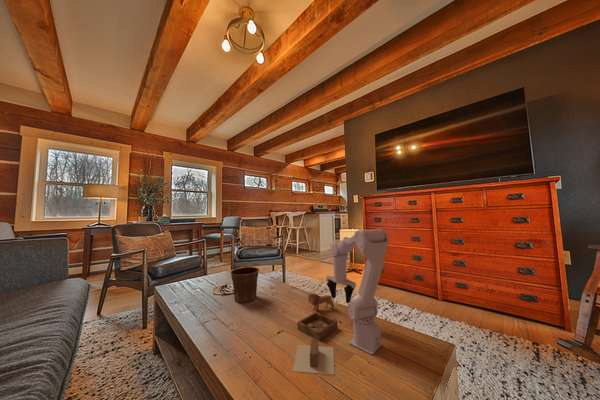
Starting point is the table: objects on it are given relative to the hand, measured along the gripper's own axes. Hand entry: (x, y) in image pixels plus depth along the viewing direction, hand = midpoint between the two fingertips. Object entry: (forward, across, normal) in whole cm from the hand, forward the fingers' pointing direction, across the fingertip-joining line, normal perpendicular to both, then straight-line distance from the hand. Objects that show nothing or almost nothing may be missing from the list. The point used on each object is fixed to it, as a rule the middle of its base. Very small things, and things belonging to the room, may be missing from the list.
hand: (340, 300), depth 96 cm
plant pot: (+10, +55, +16) cm, 58 cm away
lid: (+10, -7, +27) cm, 29 cm away
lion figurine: (+10, +14, -3) cm, 17 cm away
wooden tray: (+9, +4, +12) cm, 16 cm away
